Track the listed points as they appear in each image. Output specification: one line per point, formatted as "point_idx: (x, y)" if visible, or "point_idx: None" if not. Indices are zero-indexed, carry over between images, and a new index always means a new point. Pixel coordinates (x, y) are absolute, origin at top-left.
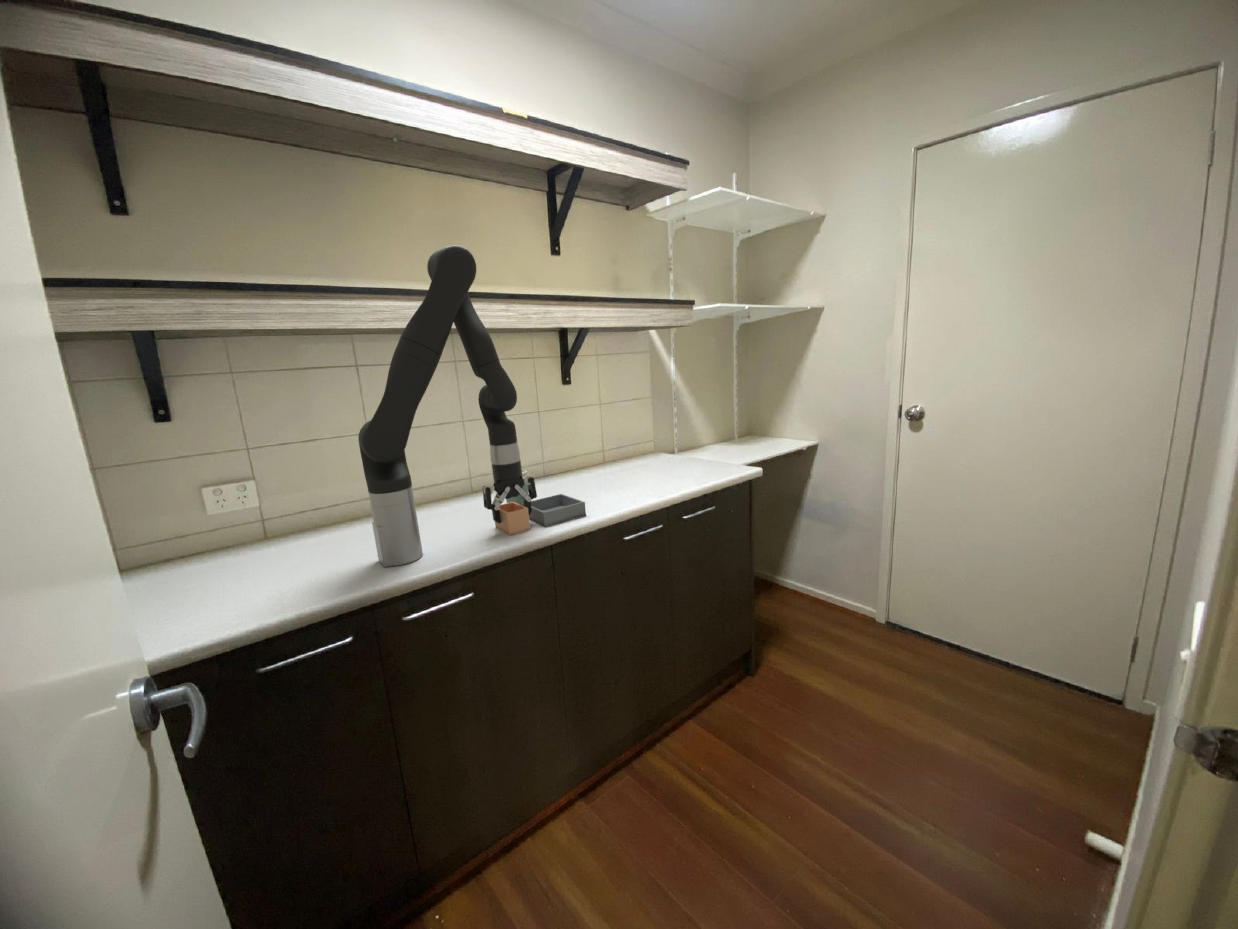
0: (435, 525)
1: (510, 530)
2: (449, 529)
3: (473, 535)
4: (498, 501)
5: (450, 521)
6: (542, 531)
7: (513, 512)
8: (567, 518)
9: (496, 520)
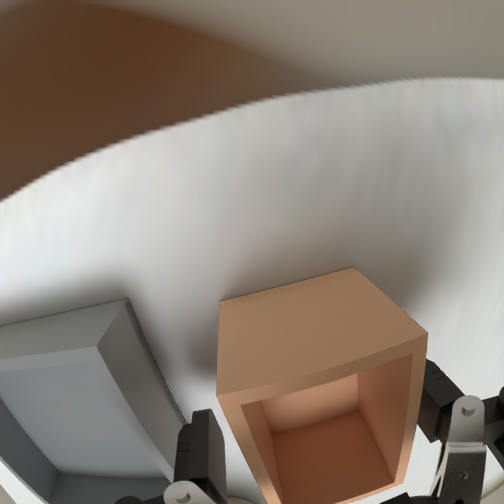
0: None
1: (356, 278)
2: None
3: (459, 347)
4: (479, 446)
5: (429, 476)
6: (155, 228)
7: (369, 351)
8: (14, 327)
9: (425, 364)
